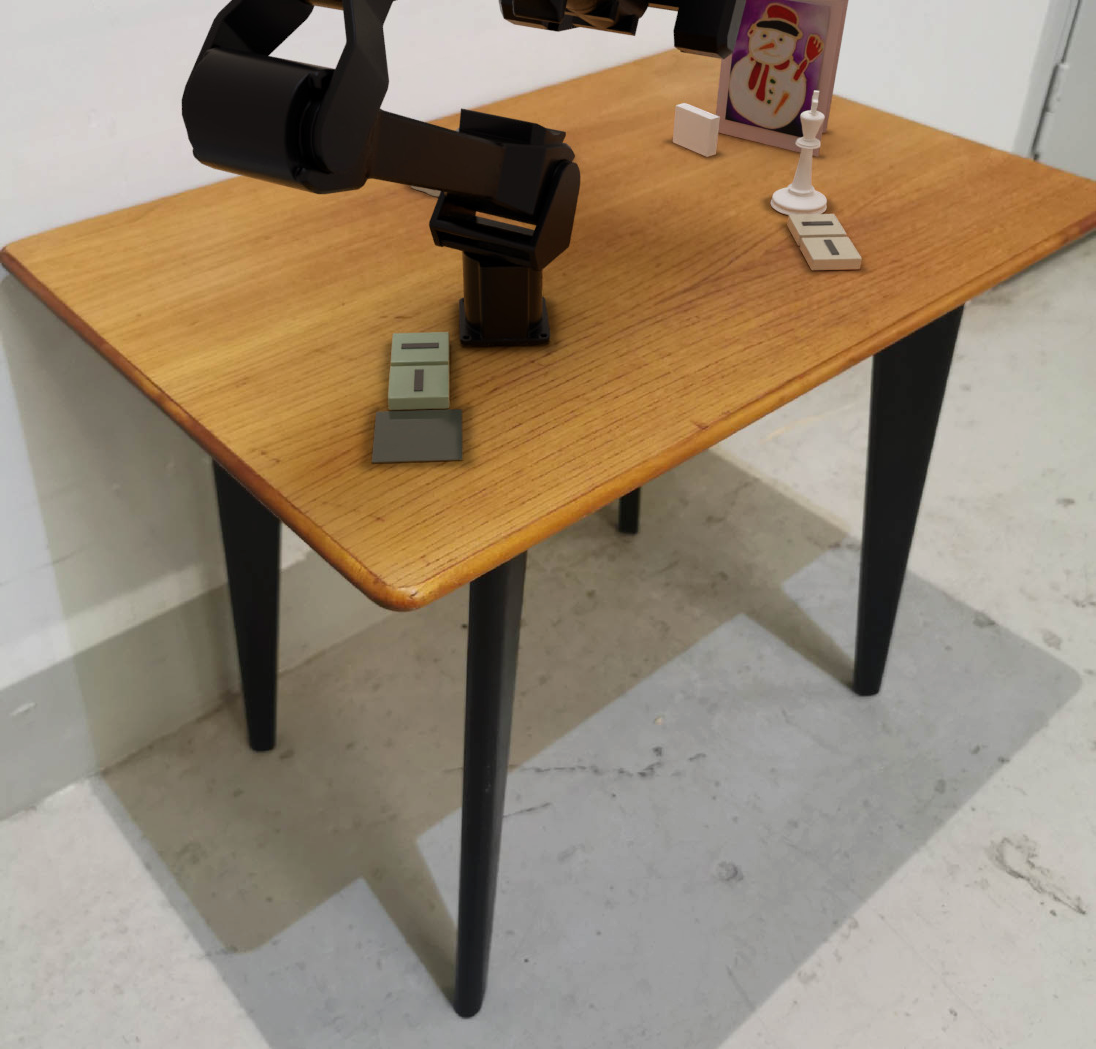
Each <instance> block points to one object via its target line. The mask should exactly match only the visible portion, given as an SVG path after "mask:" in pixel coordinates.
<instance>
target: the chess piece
mask: <svg viewBox="0 0 1096 1049" xmlns="http://www.w3.org/2000/svg"><path fill="white" fill-rule="evenodd" d="M818 97H819V91H816V90H814V93H813V96H812V106H811V110H809V111H804V112H803V113H801V115H800V118H801V123H802V131H803V137H801V138H798V139H797V141H796V145H797V146H798V147H800V148H802V150H801V153H800V154H799V158H798V161H797V162H798V163H797V166H796V169H795V173H794V176H793V180H792V182H791V183H789V184H788V185H787V187H786V186H785V187H782V188H779V189H777V190H775V191H774V192H773V194H772V196H771V200H770V206H771V207H772V209H773V210H774V211H776V212H778V213H780V214H783V215H786V216H788V215H800V214H824V213H825V212H826V211H827V208H828V206H827V203H828V199H827V197H826V196H825V194H824V193H822V192H820V191H819V190H816V188H815V187H814V185H813V184H812V177H813V175H812V174H813V157H814V156H813V149H817V148H819V147H820V148H821V145H822V144H820V141H819V140H818V139H816V138H815V136H816V134H817V133H818V131H819V128H820V126H821V124H822V123H823V121H824V118H825V116H824V114H823V113H821V112H819V111H816V110H817V107H818Z"/></svg>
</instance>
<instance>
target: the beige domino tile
mask: <svg viewBox="0 0 1096 1049" xmlns="http://www.w3.org/2000/svg"><path fill="white" fill-rule="evenodd" d="M787 217H788V218H787V222H786V227H787V229H788V230H789V232H790V234H791V235H792V238H793V240H794V241H795V243H796V245H797V246H798V247H799V250H800V252H801V254H802V256H803V257H804V259H805V261H806V263H807V265H808V266H809V268H810V270H811V271H841V270H843V271H845V270H860V269H861V265H862V261H863V258H862V256H861V254H860V253H859V251H858V250H857V248H856V247H855V245H854V243H853V241H852V240H851V239H850V237H849V236H847V235H848V234H847V232H846V230H845V229H844V227H843V226H842V224H841V222H840V220H839V219H838V217H837V216H836V215H835V213H822V214H800V215H787Z"/></svg>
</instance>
